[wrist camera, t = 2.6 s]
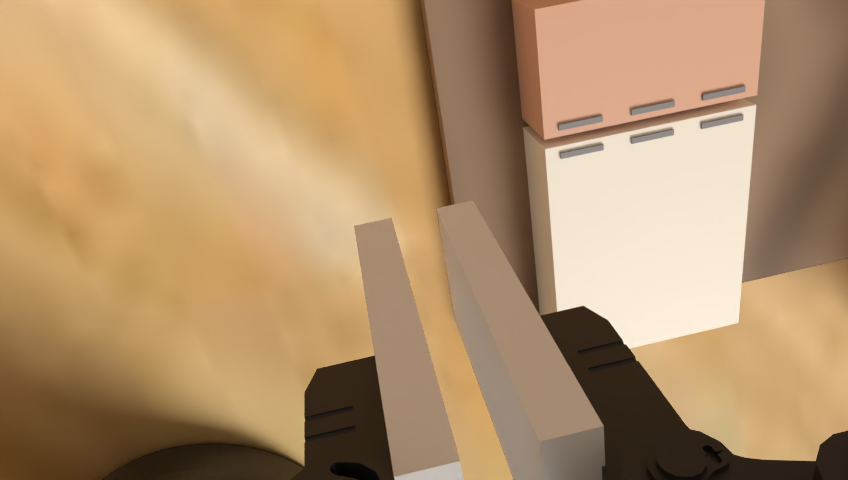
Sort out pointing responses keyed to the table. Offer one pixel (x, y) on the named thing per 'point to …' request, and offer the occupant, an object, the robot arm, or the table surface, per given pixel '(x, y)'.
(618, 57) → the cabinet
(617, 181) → the cream flat block
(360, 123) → the table surface
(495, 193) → the board
